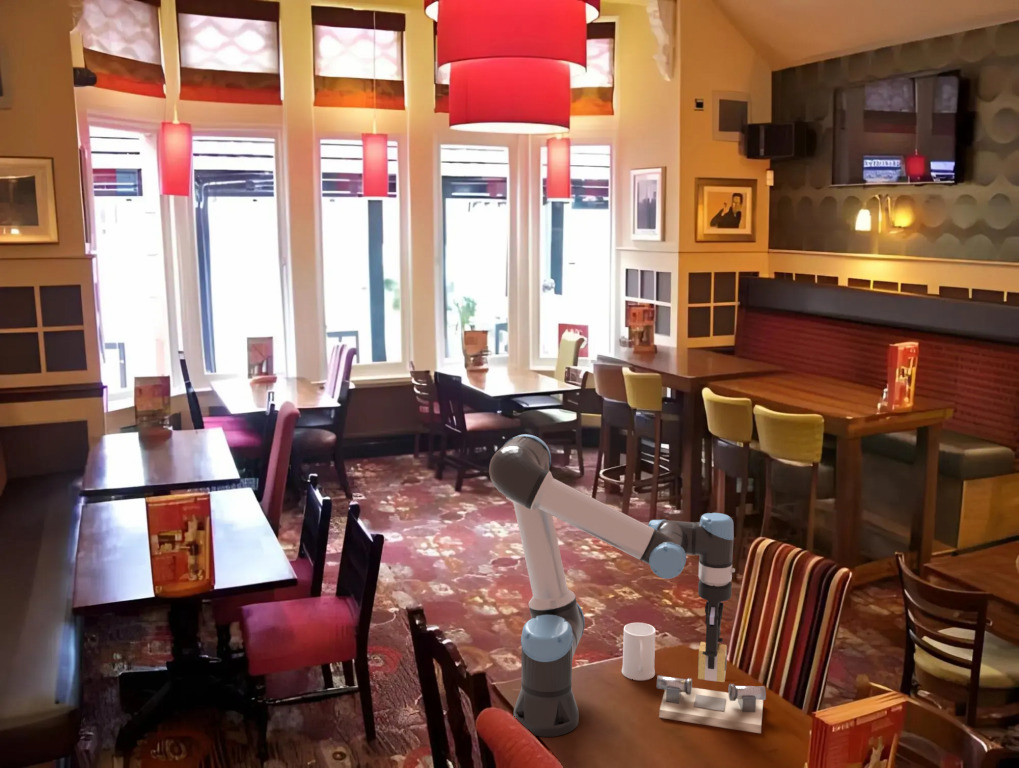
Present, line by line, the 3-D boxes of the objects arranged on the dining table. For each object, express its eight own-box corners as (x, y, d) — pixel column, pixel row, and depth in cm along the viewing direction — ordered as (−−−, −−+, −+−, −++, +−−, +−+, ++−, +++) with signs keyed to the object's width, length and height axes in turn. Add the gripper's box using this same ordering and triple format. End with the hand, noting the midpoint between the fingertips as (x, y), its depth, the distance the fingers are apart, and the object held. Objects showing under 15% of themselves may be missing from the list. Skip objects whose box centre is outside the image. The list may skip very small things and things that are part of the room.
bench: (659, 717, 216) (659, 708, 215) (666, 691, 228) (666, 683, 228) (760, 733, 209) (761, 724, 209) (762, 705, 221) (763, 697, 221)
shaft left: (655, 700, 220) (656, 679, 219) (658, 690, 224) (659, 669, 223) (689, 705, 217) (690, 684, 216) (691, 695, 222) (692, 674, 221)
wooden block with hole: (697, 678, 216) (698, 650, 215) (699, 669, 220) (700, 641, 219) (724, 682, 214) (725, 654, 213) (726, 672, 219) (727, 644, 217)
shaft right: (731, 711, 215) (732, 690, 214) (727, 700, 220) (728, 679, 219) (766, 712, 214) (767, 690, 213) (761, 701, 219) (762, 680, 218)
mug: (655, 688, 230) (657, 642, 228) (621, 685, 231) (622, 640, 229) (654, 666, 241) (656, 623, 239) (621, 664, 242) (622, 621, 240)
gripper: (729, 596, 204) (725, 694, 208) (734, 568, 221) (730, 659, 225) (694, 592, 206) (691, 690, 210) (702, 565, 223) (699, 655, 227)
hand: (711, 674), depth 217 cm, fingers closed on wooden block with hole, 5 cm apart
